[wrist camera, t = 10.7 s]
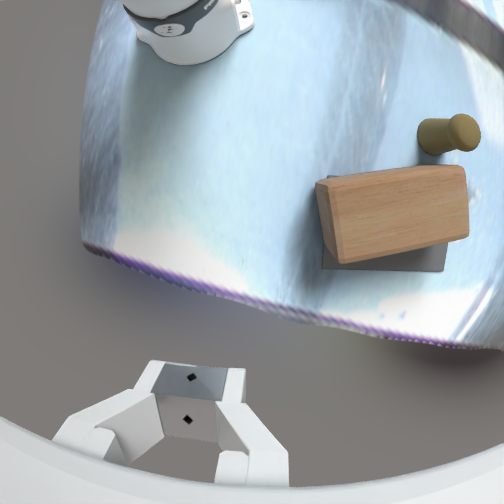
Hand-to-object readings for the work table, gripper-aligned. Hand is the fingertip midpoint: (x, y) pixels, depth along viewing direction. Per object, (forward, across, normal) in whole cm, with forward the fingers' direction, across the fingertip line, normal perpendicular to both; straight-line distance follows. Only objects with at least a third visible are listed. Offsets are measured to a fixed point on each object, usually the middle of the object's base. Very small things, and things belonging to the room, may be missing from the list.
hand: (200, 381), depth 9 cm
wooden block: (+32, -9, 0) cm, 33 cm away
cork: (+37, -28, -14) cm, 49 cm away
